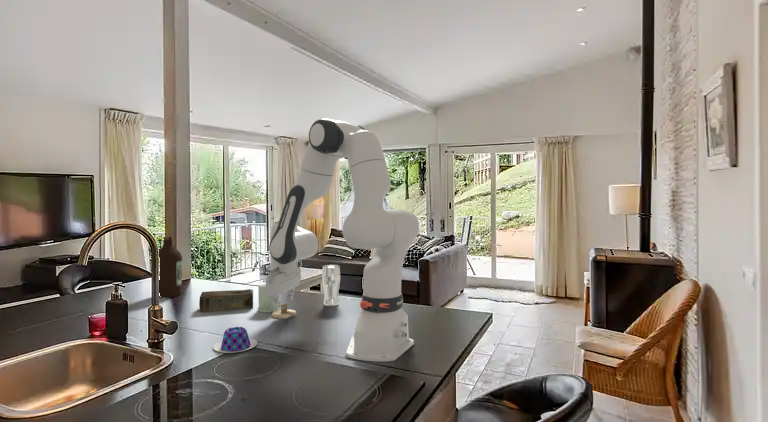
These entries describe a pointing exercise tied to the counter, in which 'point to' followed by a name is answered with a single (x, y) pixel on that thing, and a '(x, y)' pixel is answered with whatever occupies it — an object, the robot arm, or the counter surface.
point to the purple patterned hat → (235, 341)
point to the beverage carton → (226, 300)
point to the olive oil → (170, 269)
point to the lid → (284, 312)
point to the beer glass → (331, 284)
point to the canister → (265, 301)
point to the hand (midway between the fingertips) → (283, 303)
